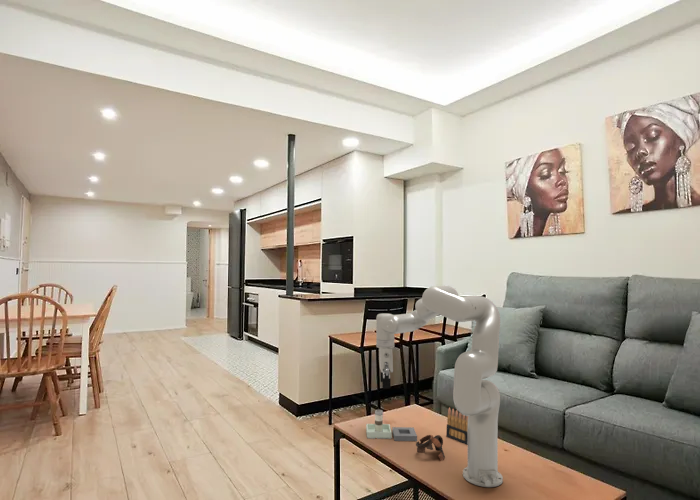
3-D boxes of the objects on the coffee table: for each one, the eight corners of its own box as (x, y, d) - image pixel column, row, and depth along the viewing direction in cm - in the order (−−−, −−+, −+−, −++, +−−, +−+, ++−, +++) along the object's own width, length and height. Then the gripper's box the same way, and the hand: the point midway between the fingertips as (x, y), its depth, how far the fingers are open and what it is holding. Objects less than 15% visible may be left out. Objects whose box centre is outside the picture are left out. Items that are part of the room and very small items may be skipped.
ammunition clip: (471, 444, 161) (471, 413, 162) (468, 445, 160) (468, 414, 160) (448, 435, 169) (448, 406, 170) (446, 436, 168) (446, 407, 169)
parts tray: (391, 438, 165) (391, 432, 165) (367, 438, 165) (367, 432, 165) (389, 430, 174) (389, 424, 174) (366, 429, 174) (366, 423, 174)
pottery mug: (439, 466, 143) (427, 444, 145) (420, 469, 149) (408, 448, 151) (454, 446, 152) (442, 426, 154) (435, 450, 158) (424, 431, 160)
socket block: (417, 441, 163) (417, 436, 163) (394, 440, 163) (394, 435, 163) (413, 432, 172) (413, 427, 172) (392, 431, 172) (392, 427, 172)
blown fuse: (382, 434, 168) (383, 412, 168) (374, 434, 168) (375, 412, 168) (382, 431, 171) (382, 409, 172) (374, 431, 171) (374, 409, 172)
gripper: (396, 347, 162) (396, 390, 160) (392, 340, 179) (392, 379, 178) (377, 347, 161) (377, 390, 160) (374, 340, 179) (374, 379, 178)
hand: (385, 385), depth 169 cm, fingers open, 9 cm apart
